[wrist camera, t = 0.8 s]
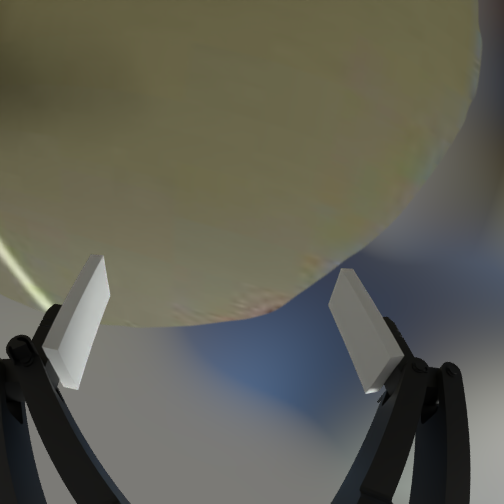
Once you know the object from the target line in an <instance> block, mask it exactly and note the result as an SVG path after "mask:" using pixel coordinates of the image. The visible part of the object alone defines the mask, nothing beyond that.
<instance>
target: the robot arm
mask: <svg viewBox="0 0 504 504" xmlns="http://www.w3.org/2000/svg"><path fill="white" fill-rule="evenodd" d="M109 298H110V291H109V286H108V280H107V274H106V268H105V262H104V255H92V254H91V255H90V257H89V259H88V260H87V262H86V264H85V265H84V267H83V269H82V270H81V272H80V274H79V275H78V277H77V279H76V281H75V282H74V284H73V286H72V288H71V290H70V292H69V293H68V295H67V297H66V299H65V301H64V303H63V305H58V304H54V305H53V306H51V307H50V308H49V309H48V310H47V312H46V313H45V315H44V317H43V320H42V321H41V323H40V326H39V327H38V329H37V331H36V333H35V335H34V337H33V339H32V341H31V339H30V338H29V337H28V336H26V335H18V336H15V337H14V338H12V339H11V340H10V341H9V342H8V344H7V347H6V353H7V354H8V356H9V358H10V359H1V358H0V504H47V502H46V500H45V496H44V493H43V490H42V487H41V483H40V480H39V477H38V472H37V468H36V464H35V460H34V455H33V451H32V446H31V441H30V435H29V430H28V423H27V416H26V409H25V402H26V403H27V406H28V408H29V411H30V413H31V416H32V418H33V421H34V423H35V426H36V428H37V430H38V433H39V435H40V437H41V439H42V442H43V444H44V446H45V448H46V450H47V452H48V454H49V456H50V458H51V460H52V462H53V464H54V465H55V467H56V469H57V471H58V473H59V475H60V476H61V478H62V480H63V482H64V483H65V485H66V487H67V488H68V490H69V491H70V493H71V495H72V496H73V498H74V499H75V501H76V503H77V504H130V502H129V501H128V500H127V499H126V498H125V496H124V495H123V494H122V492H121V491H120V490H119V489H118V487H117V486H116V485H115V483H114V482H113V480H112V479H111V478H110V476H109V475H108V474H107V472H106V471H105V469H104V468H103V466H102V465H101V463H100V462H99V460H98V459H97V458H96V456H95V454H94V453H93V451H92V449H91V448H90V446H89V445H88V443H87V441H86V440H85V438H84V436H83V435H82V433H81V431H80V429H79V428H78V426H77V424H76V422H75V420H74V418H73V417H72V415H71V413H70V411H69V409H68V407H67V405H66V403H65V401H64V399H63V397H62V395H61V393H60V391H59V389H58V388H57V385H58V382H59V380H60V381H61V383H62V385H63V386H64V387H67V388H72V389H77V390H78V389H79V385H80V381H81V378H82V375H83V372H84V368H85V365H86V362H87V358H88V356H89V353H90V350H91V347H92V343H93V341H94V338H95V335H96V332H97V329H98V327H99V324H100V321H101V318H102V316H103V313H104V310H105V308H106V305H107V303H108V300H109ZM328 306H329V308H330V310H331V313H332V315H333V317H334V319H335V322H336V324H337V326H338V329H339V331H340V333H341V335H342V338H343V340H344V342H345V345H346V347H347V350H348V352H349V354H350V356H351V359H352V362H353V364H354V366H355V369H356V371H357V374H358V376H359V379H360V381H361V383H362V386H363V388H364V391H365V393H371V392H377V391H379V390H380V388H381V387H382V386H383V385H385V388H386V391H385V392H384V393H383V395H382V396H381V397H380V398H379V400H378V401H377V402H378V403H379V402H380V401H381V402H380V404H379V407H378V409H377V412H376V414H375V417H374V419H373V422H372V424H371V426H370V429H369V431H368V433H367V435H366V438H365V440H364V442H363V444H362V446H361V448H360V450H359V453H358V455H357V457H356V459H355V461H354V463H353V465H352V467H351V469H350V471H349V472H348V474H347V476H346V478H345V480H344V482H343V483H342V485H341V487H340V489H339V491H338V493H337V494H336V496H335V497H334V499H333V501H332V502H331V504H393V503H392V497H393V495H394V493H395V490H396V487H397V485H398V483H399V480H400V478H401V475H402V472H403V470H404V467H405V464H406V461H407V458H408V455H409V452H410V449H411V446H412V443H413V439H414V436H415V453H414V466H413V476H412V485H411V494H410V500H409V504H469V502H470V443H469V428H468V418H467V409H466V401H465V393H464V387H463V381H462V375H461V371H460V369H459V368H458V367H457V366H456V365H455V364H453V363H451V362H445V363H444V364H443V365H442V366H441V367H440V368H433V367H428V365H427V363H426V362H425V361H423V360H422V359H420V358H417V357H414V356H413V354H412V352H411V351H410V349H409V347H408V345H407V344H406V342H405V340H404V338H402V335H401V333H400V332H399V331H398V329H397V327H396V325H395V323H394V322H393V321H391V320H390V319H389V318H388V317H382V316H381V314H380V312H379V311H378V309H377V307H376V306H375V304H374V302H373V301H372V299H371V298H370V296H369V294H368V293H367V291H366V289H365V288H364V286H363V285H362V283H361V281H360V280H359V278H358V277H357V275H356V273H355V272H354V270H353V269H341V271H340V273H339V276H338V279H337V282H336V285H335V288H334V291H333V293H332V296H331V299H330V302H329V304H328ZM415 433H416V435H415Z"/></svg>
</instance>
